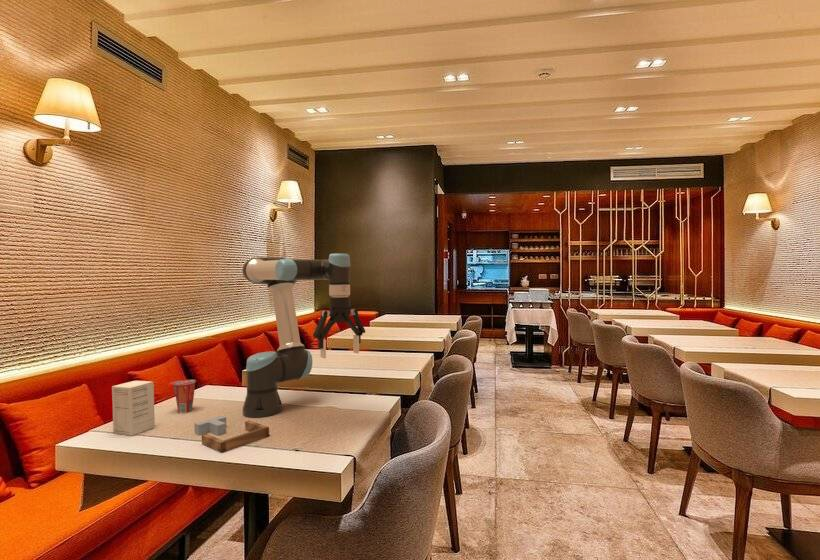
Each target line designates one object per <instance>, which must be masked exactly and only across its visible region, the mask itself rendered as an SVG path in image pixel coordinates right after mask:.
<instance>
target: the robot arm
mask: <svg viewBox="0 0 820 560" xmlns="http://www.w3.org/2000/svg"><path fill="white" fill-rule="evenodd" d="M350 258H351V257H350V255H349V254H348V253H330V254H329V256H328V259H302V258H300V259H299V258H295V259H294V258H289V257H282V256H281V257H266V256H265V257H264V256H260V257H258V256H257V257H252V258H250V259H248V260H247V261H246V262H244V264H243V265H242V268H241V270H242V271H241V272H242V275H243V277H244V278H245V280H247V281H248V282H249V283H252V284H256V285H267V290H268V291H270V292H271V293H272V294H271V295H272V301H273V307H274V308H273V309H274V315H275V320H276V329H277V335H278V343H279V347H278V348H277V350H276V351H273V350H272V351H271V350H270V351H263V352H257V353H255V354H252V355H250V356H249V357H248V358H247V359H246V366H245V370H246V395H245V396H246V397H245V399H244V402H243V406H242V415H243V416H244V417H248V418H263V417H264V418H265V417H269V416H274V415H277V414H279V413H280V412H282V411H283V402H282V400H281V397H280V395H279V392H278V391H279V390H278V384H279V383H284V382H290V381H295V380H300V379H304V378H306V377H308V376H309V375H310V374H311V371H312V368H313V356H312V353H311V352H310V350H308V349H306V347H305V345H304V344H303V343H302V342H301V338H300V331H299V324H298V319H297V311H296V305H295V299H294V294H293V293H294V292H293V289H294V288H295V286H296V283H297V282H298V281H318V280H319V281H324V280H325V281H326V280H327V281H328V294H329V295H328V296H330V297H329V298H328V302H329V303H328V305H329V306H328V307H329V310H328V311H327V310H321V311H320V318H319V321H318V322H317V325H316V327H315V330H314V332H313V334H312V337H313V338H314V339H317V346H318V349H320V350H319V351H320V353H319V354H320V355H319V358H322V359H327V339H325V338H326V337H327V335H328V333H329V332H330V330H331V329H332V327H333V326H335V324H336V323H337V324H339V323H346V324H347V325H348V327H349V328H350V329H351V330H352V332H353V333H354V334H353V335H352V336H353V337H352V339H353V340H352V343H353V347H352V348H353V349H352V350H353V353H354V354H360V344H361V343H362V341H361V339H362V337H361V336H363V334H365V333H366V329H365V328H364V327H365V326H364V325H363V323H362V320H361V318H360V316H359V311H358V310H359V309H358V308H351V309H350V307H351V297H350V295H351V259H350ZM350 315H351V317H352V318H351V317H350ZM327 319H328V320H327ZM353 320H354V322H353ZM326 321H327V323H326ZM325 323H326V324H325Z"/></svg>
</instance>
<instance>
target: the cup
mask: <svg viewBox="0 0 820 560" xmlns="http://www.w3.org/2000/svg"><path fill="white" fill-rule="evenodd" d="M196 382H197V380H196V379H182V380H176V381H172V382H170V383H168V385H173V388H174V395H175V401H176V408H177V412H178V413H179V414H186V413H190V412H192V411H193V405H194V399H195V398H194V397H195V391H196V390H195V387H196Z"/></svg>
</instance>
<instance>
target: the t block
mask: <svg viewBox="0 0 820 560" xmlns="http://www.w3.org/2000/svg"><path fill="white" fill-rule="evenodd" d="M209 433H210V434H213V435H216V436H217V437H219V436H222V435H225V434H227V417H226V416H224V415H220V416H216V417H213V418H209V419H205V420H202V421H199V422H195V423H194V434H195V435H197V436H202V435H203V434H209Z"/></svg>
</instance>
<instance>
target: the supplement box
mask: <svg viewBox="0 0 820 560" xmlns="http://www.w3.org/2000/svg"><path fill="white" fill-rule="evenodd" d="M154 387H155V386H154V381H148V380H147V381H146V380H132V381H128V382H124V383H120V384H117V385H116V384H115V385H112V386H111V396H112V397H111V399H112V400H111V401H112V431H113V433H112V434H116V435H124V436H131V437H132V436H134V435H135V436H136V435H138V434H140V433H144V432H147V431H148V430H151V429H153V428H156V425H155V424H156V422H155V419H156V417H155V415H156V414H155V389H154Z"/></svg>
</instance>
